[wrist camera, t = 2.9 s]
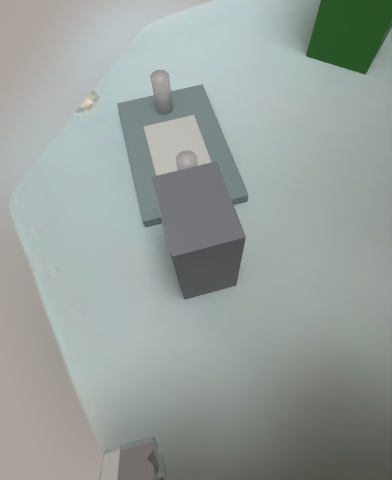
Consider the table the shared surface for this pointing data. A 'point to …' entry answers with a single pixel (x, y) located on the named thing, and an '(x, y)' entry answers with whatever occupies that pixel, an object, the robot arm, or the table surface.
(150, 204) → the tray
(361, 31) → the hardback book
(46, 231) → the table surface
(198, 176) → the block
